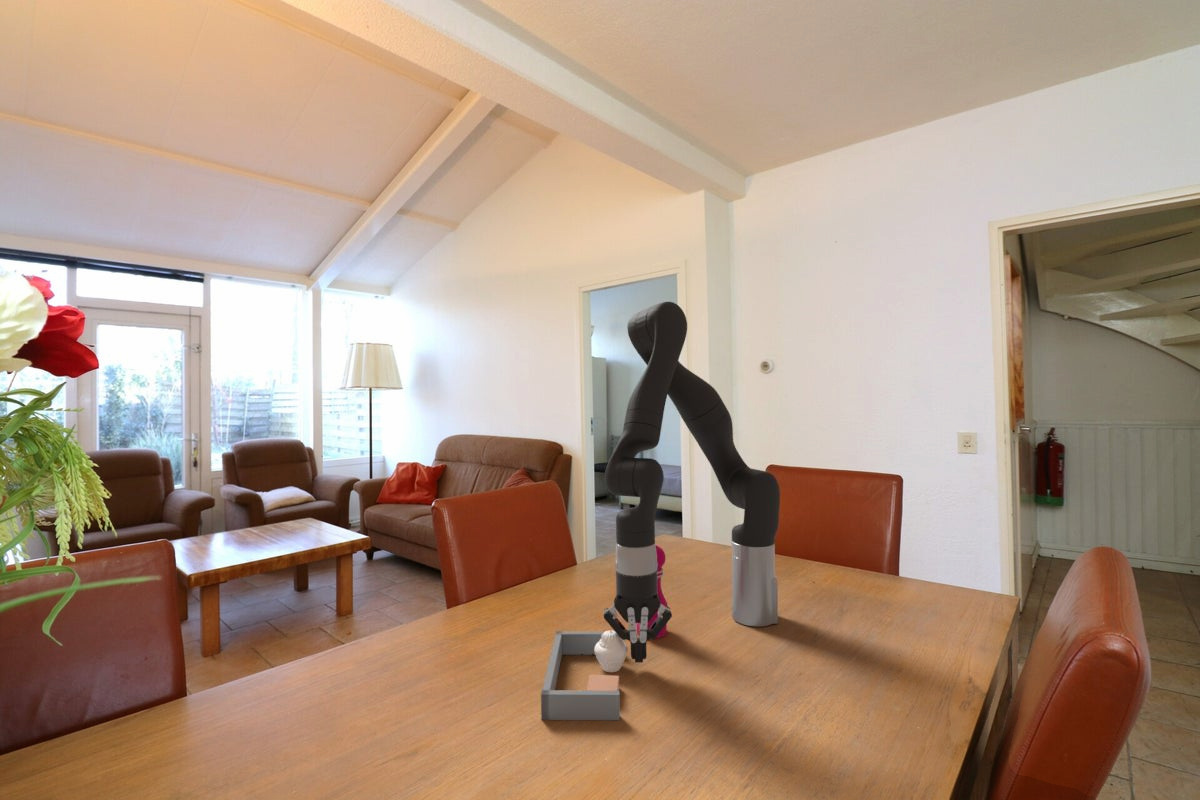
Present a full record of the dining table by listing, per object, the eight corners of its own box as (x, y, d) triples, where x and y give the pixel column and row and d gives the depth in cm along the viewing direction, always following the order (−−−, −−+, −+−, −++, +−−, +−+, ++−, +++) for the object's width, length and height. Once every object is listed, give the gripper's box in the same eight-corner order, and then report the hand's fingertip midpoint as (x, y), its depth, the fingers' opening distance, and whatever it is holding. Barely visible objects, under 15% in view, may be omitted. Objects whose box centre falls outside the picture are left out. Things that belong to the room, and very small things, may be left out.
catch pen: (618, 651, 109) (618, 631, 109) (619, 720, 87) (619, 694, 86) (556, 651, 109) (556, 631, 109) (541, 719, 87) (541, 694, 87)
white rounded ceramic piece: (601, 658, 107) (600, 621, 106) (632, 663, 104) (631, 626, 104) (589, 673, 101) (588, 635, 101) (621, 679, 99) (621, 640, 98)
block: (619, 690, 96) (619, 675, 96) (616, 706, 91) (616, 691, 91) (590, 688, 96) (590, 674, 96) (586, 705, 91) (586, 690, 91)
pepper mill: (667, 641, 113) (666, 543, 113) (632, 638, 115) (631, 541, 114) (670, 626, 120) (669, 534, 120) (636, 623, 122) (636, 532, 121)
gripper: (670, 559, 105) (672, 650, 106) (600, 561, 105) (602, 651, 106) (675, 573, 98) (677, 670, 98) (599, 574, 98) (602, 671, 98)
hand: (638, 660), depth 102 cm, fingers closed
